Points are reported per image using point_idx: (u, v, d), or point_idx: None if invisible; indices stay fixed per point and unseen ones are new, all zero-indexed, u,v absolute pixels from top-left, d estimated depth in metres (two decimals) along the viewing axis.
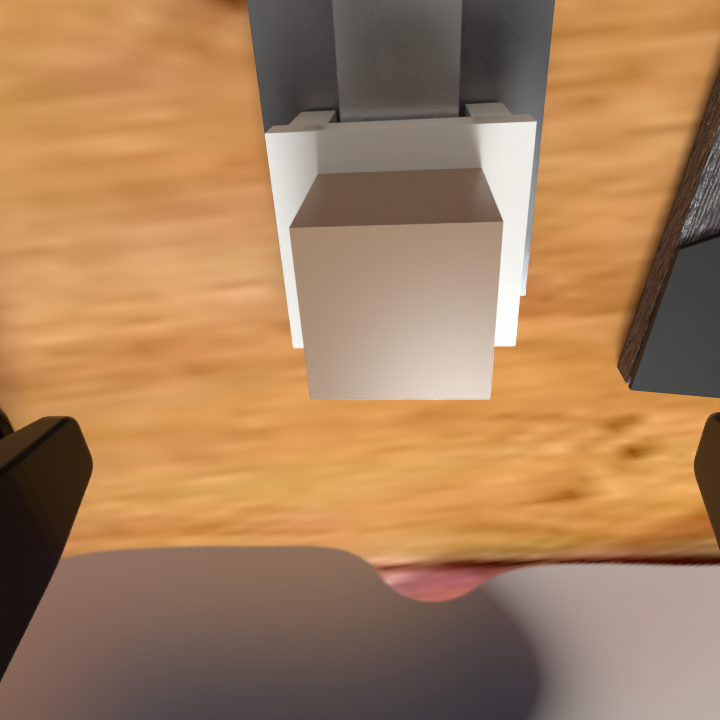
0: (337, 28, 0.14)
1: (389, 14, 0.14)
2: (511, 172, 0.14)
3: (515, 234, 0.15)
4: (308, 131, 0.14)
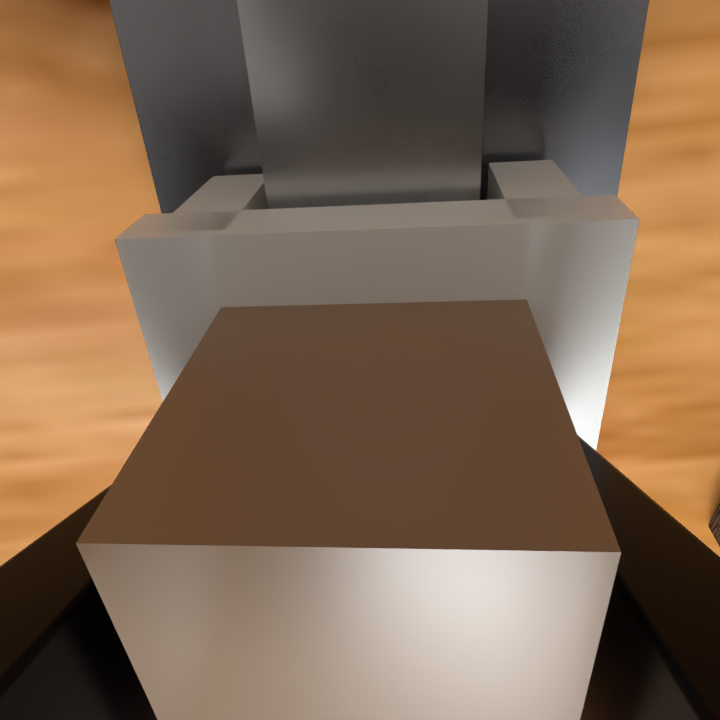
0: (249, 38, 0.07)
1: (347, 10, 0.07)
2: (583, 307, 0.07)
3: (585, 406, 0.08)
4: (196, 235, 0.07)
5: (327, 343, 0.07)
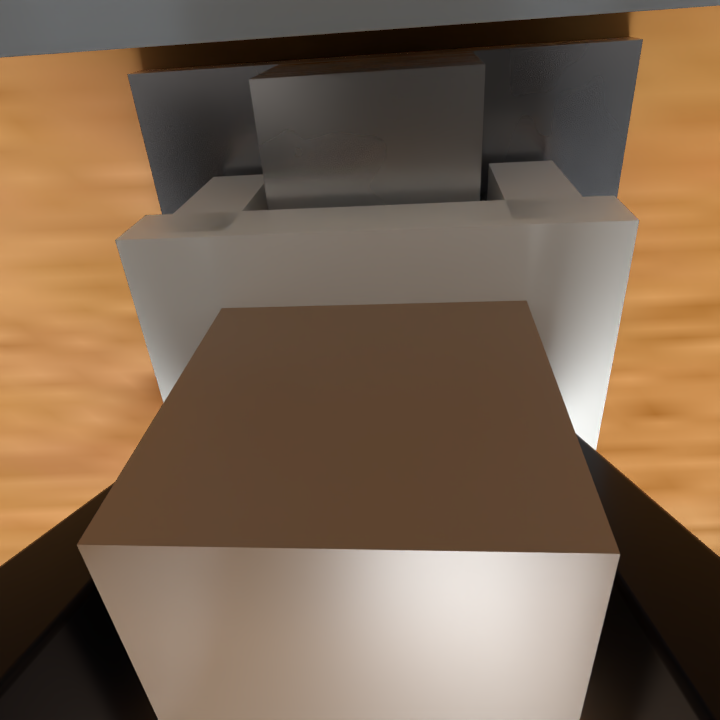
0: None
1: None
2: (583, 308, 0.07)
3: (585, 406, 0.08)
4: (196, 236, 0.07)
5: (327, 344, 0.07)
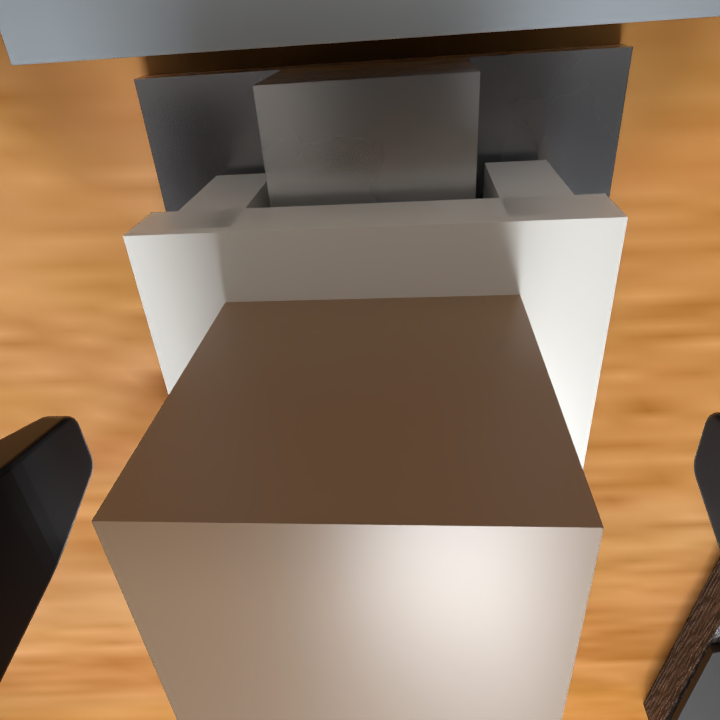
0: None
1: None
2: (574, 302, 0.08)
3: (576, 398, 0.09)
4: (201, 232, 0.08)
5: (328, 336, 0.07)
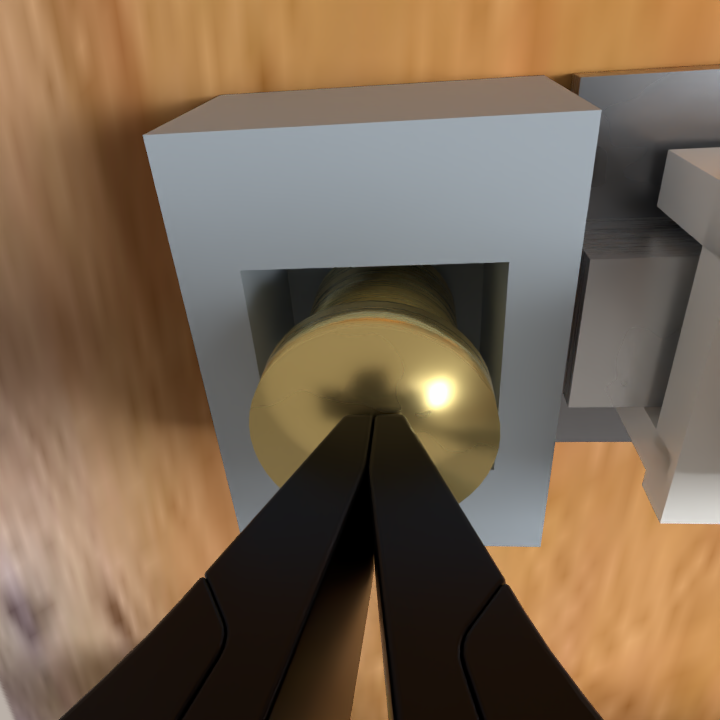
0: None
1: None
2: None
3: None
4: (672, 479, 0.10)
5: None
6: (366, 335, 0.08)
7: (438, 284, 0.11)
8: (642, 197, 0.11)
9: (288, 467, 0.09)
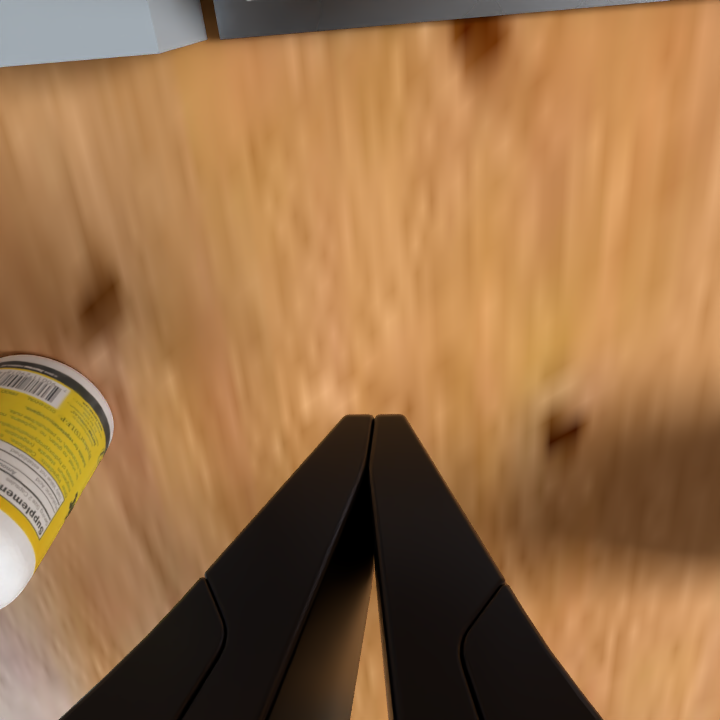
0: None
1: None
2: None
3: None
4: None
5: None
6: None
7: None
8: None
9: None
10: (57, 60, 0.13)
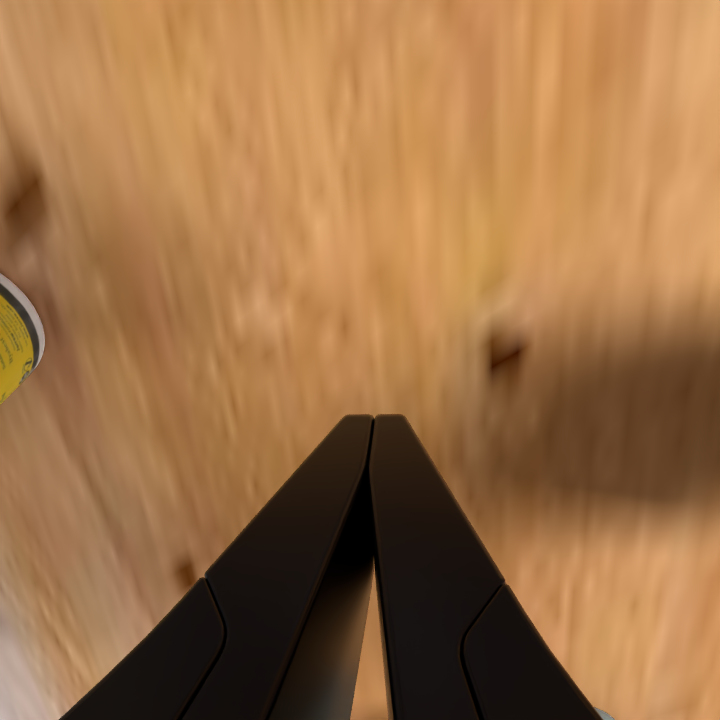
0: None
1: None
2: None
3: None
4: None
5: None
6: None
7: None
8: None
9: None
10: None
